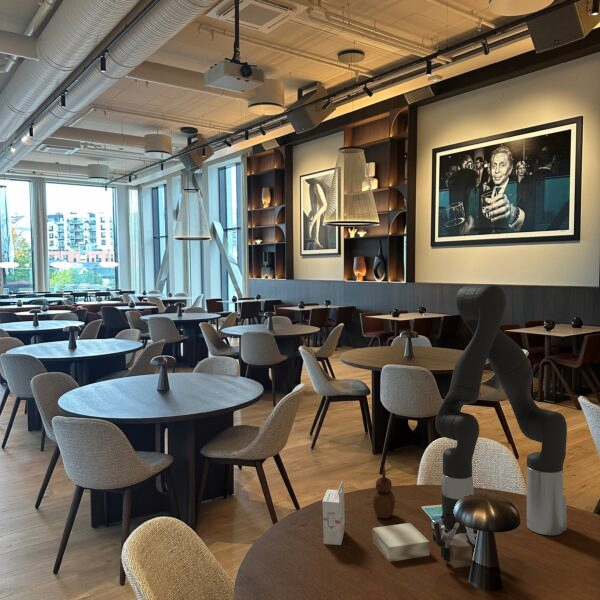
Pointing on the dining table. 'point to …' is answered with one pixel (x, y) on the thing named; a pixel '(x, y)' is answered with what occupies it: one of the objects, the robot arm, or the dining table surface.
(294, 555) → the dining table surface
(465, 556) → the walnut cube
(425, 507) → the smartphone
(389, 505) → the wooden figurine
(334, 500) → the ink cartridge box
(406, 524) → the birch block
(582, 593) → the dining table surface
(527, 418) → the robot arm
